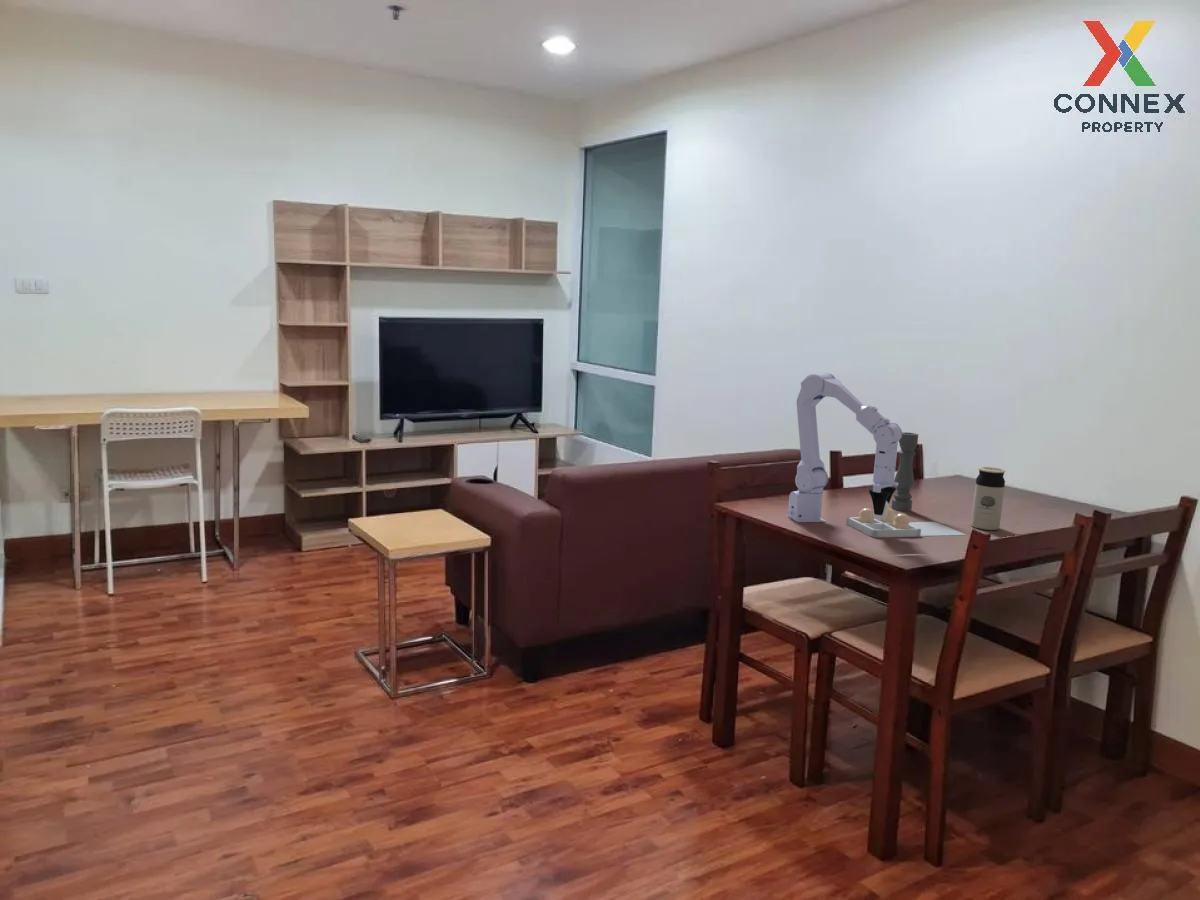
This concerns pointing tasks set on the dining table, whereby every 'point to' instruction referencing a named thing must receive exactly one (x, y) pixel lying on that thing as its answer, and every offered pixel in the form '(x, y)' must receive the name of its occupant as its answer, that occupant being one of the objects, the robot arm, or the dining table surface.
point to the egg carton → (913, 529)
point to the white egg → (884, 515)
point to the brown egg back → (901, 521)
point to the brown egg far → (889, 516)
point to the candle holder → (905, 473)
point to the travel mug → (988, 498)
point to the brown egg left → (866, 516)
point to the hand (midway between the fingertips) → (880, 513)
